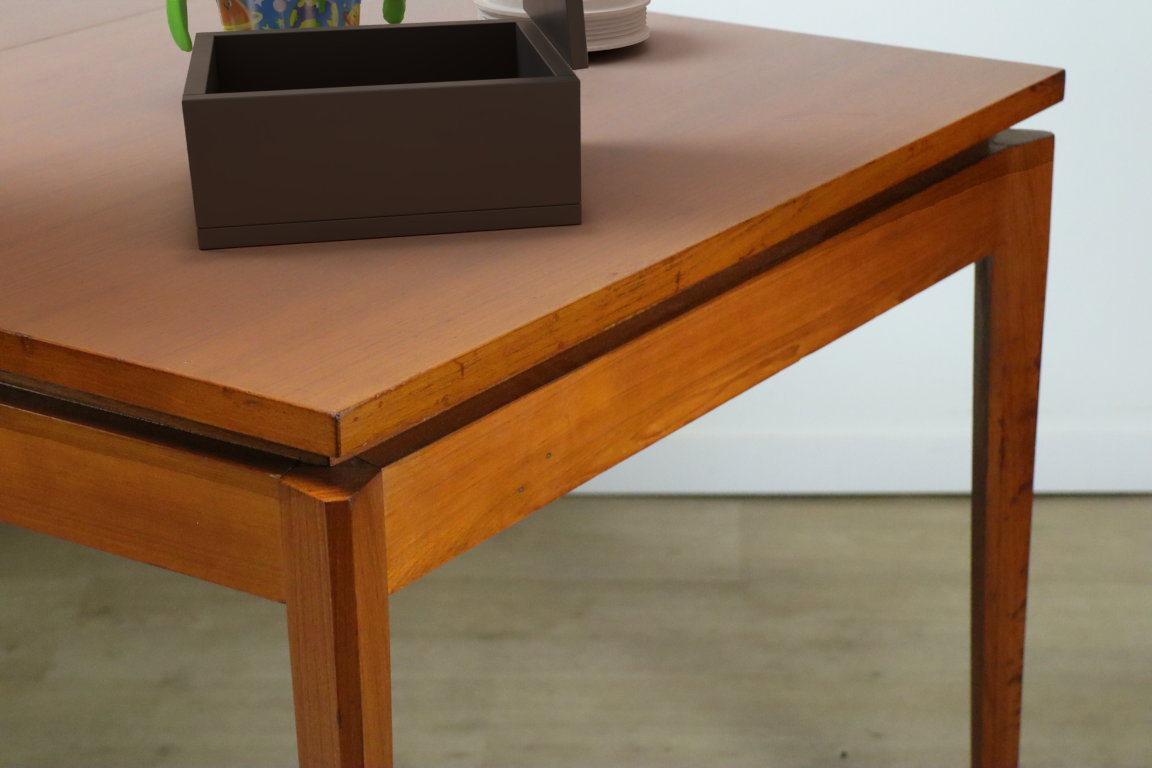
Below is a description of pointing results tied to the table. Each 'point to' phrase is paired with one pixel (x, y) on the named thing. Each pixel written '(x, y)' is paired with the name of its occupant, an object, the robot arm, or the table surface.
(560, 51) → the loader lid
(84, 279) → the table surface
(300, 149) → the dark brown open box
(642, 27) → the stack of white plates
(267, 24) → the snack cup
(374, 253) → the table surface
